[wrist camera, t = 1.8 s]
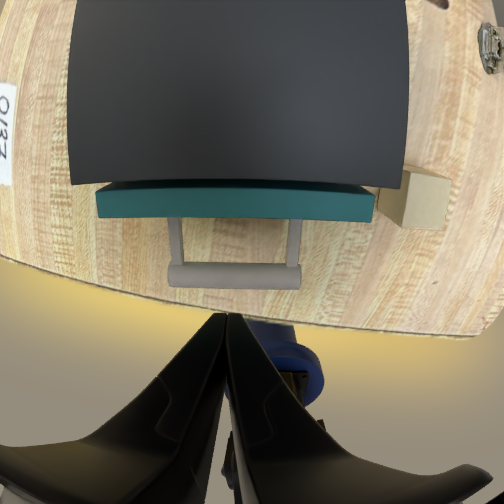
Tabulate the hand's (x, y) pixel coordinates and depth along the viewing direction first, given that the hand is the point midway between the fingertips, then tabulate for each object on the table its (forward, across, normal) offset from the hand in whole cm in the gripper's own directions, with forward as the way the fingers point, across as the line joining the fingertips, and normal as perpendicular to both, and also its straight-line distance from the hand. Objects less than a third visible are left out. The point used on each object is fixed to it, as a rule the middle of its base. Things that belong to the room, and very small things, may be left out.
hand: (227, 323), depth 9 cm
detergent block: (+12, -12, -2) cm, 17 cm away
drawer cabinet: (+12, 0, -11) cm, 17 cm away
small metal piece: (+12, -21, -17) cm, 30 cm away
